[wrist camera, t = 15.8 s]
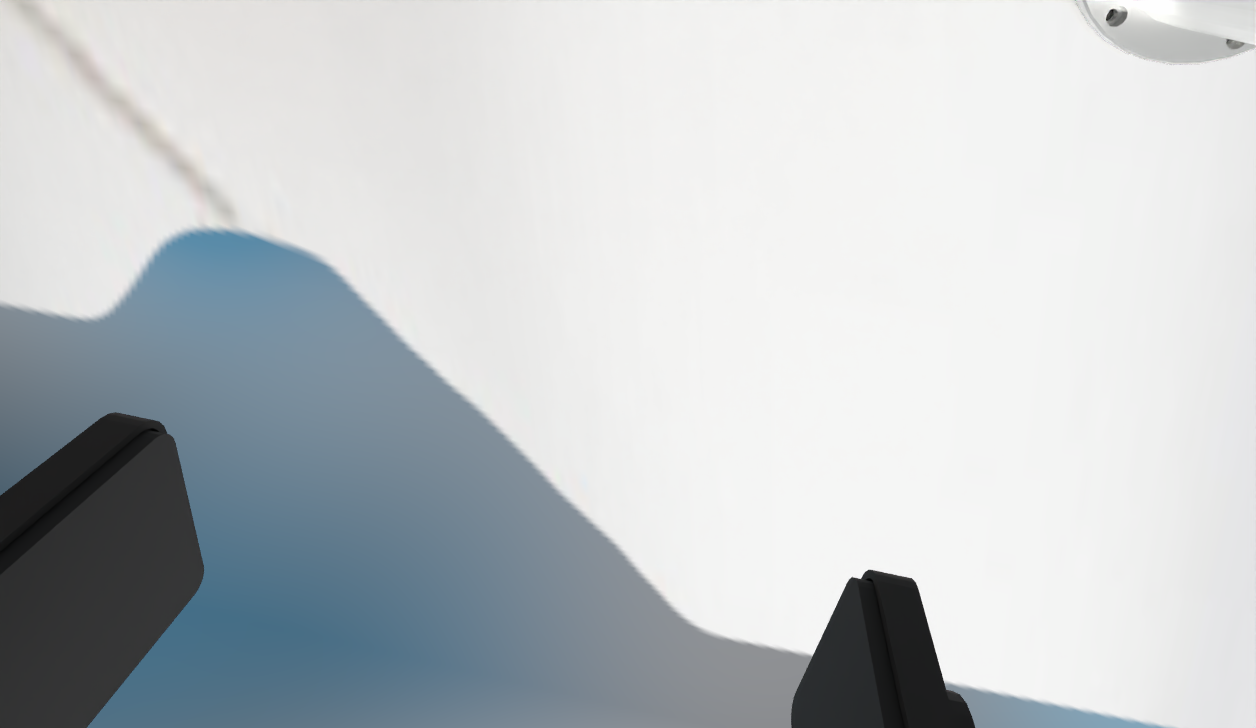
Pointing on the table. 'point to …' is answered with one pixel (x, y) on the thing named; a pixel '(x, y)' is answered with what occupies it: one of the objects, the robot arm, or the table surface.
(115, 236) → the table surface
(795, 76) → the table surface
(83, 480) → the robot arm
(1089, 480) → the table surface
